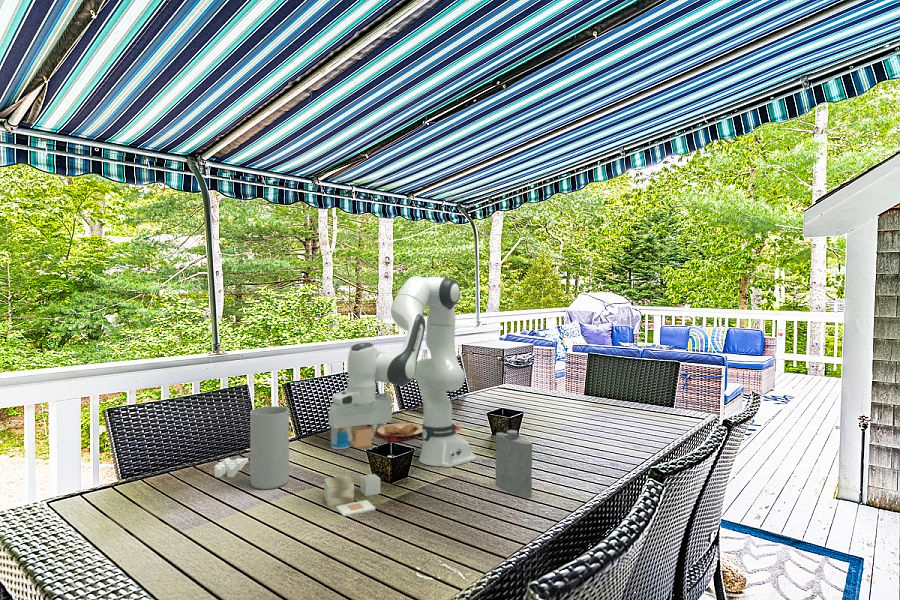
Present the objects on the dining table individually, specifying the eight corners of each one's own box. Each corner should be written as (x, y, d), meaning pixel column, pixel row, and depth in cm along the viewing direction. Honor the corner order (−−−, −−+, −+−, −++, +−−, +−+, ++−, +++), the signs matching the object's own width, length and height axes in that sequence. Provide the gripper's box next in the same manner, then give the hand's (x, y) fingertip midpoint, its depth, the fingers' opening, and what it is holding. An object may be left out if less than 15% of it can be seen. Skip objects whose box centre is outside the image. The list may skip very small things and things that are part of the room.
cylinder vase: (253, 492, 181) (253, 416, 180) (248, 480, 192) (247, 408, 191) (292, 486, 187) (292, 412, 186) (285, 474, 198) (285, 405, 197)
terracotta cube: (365, 441, 178) (365, 425, 177) (371, 445, 173) (371, 429, 173) (350, 443, 175) (350, 427, 175) (356, 447, 171) (356, 431, 171)
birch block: (349, 494, 181) (349, 475, 181) (353, 503, 173) (354, 484, 173) (324, 497, 178) (324, 478, 178) (327, 506, 171) (328, 487, 170)
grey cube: (374, 488, 185) (374, 473, 185) (380, 493, 181) (380, 478, 181) (360, 491, 183) (360, 476, 183) (365, 496, 179) (365, 481, 179)
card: (366, 501, 174) (366, 499, 174) (375, 509, 168) (375, 507, 168) (335, 508, 169) (335, 505, 169) (343, 516, 163) (343, 514, 163)
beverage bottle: (326, 448, 230) (326, 400, 229) (337, 442, 237) (337, 396, 237) (343, 450, 226) (343, 402, 226) (354, 445, 234) (354, 398, 234)
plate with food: (440, 435, 254) (440, 427, 254) (392, 444, 237) (392, 435, 237) (407, 425, 273) (408, 417, 273) (361, 433, 255) (361, 425, 255)
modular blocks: (233, 478, 195) (233, 467, 195) (213, 478, 195) (213, 466, 195) (251, 460, 215) (251, 450, 215) (233, 460, 214) (233, 450, 214)
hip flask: (533, 496, 180) (534, 435, 179) (524, 499, 177) (525, 437, 177) (500, 482, 192) (501, 424, 192) (491, 484, 190) (492, 426, 189)
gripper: (387, 390, 182) (387, 432, 182) (327, 396, 171) (326, 440, 172) (395, 394, 176) (395, 437, 177) (333, 399, 166) (333, 445, 166)
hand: (360, 439), depth 174 cm, fingers closed on terracotta cube, 5 cm apart
